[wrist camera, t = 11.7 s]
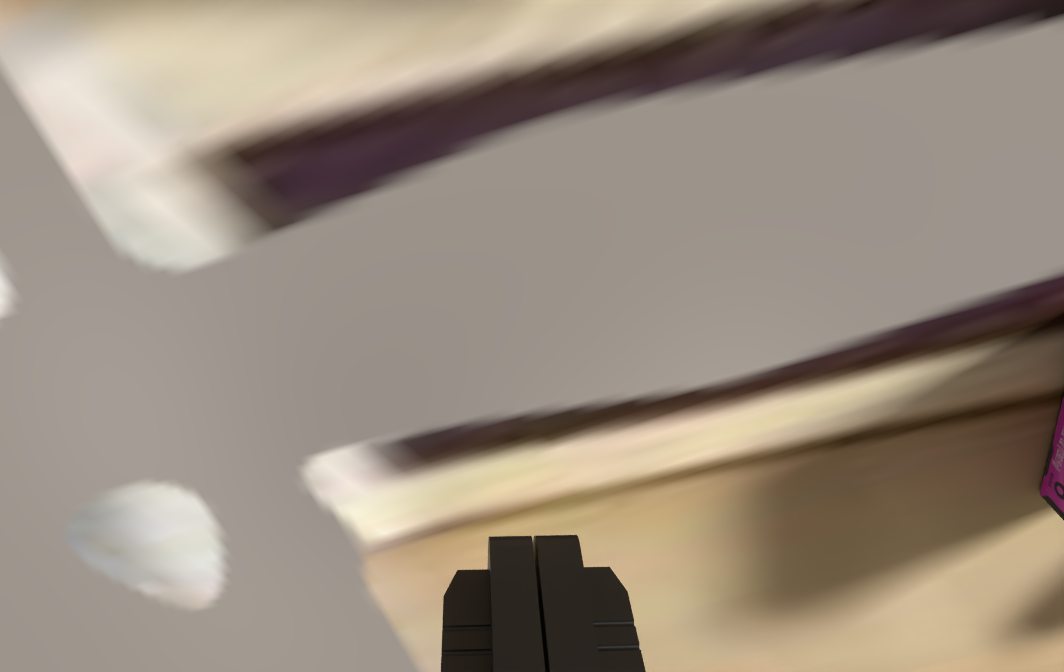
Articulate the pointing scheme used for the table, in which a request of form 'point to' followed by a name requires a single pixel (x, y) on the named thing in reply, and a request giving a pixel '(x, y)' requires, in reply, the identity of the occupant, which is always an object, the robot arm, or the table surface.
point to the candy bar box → (1055, 470)
